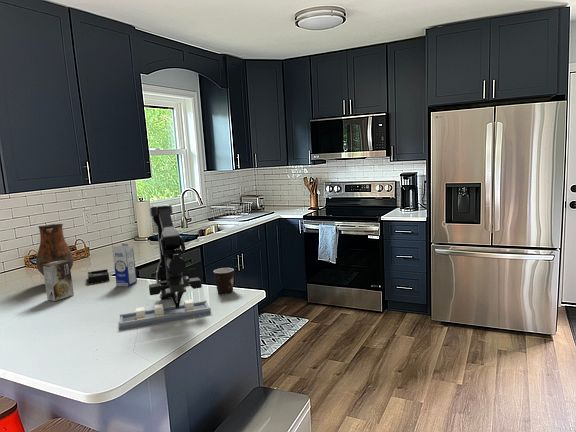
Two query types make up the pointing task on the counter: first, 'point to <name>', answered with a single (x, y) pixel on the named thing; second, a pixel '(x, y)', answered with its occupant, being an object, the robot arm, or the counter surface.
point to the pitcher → (52, 246)
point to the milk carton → (124, 265)
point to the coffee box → (58, 280)
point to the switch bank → (169, 315)
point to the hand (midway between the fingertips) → (177, 308)
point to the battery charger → (98, 276)
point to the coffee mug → (224, 280)
